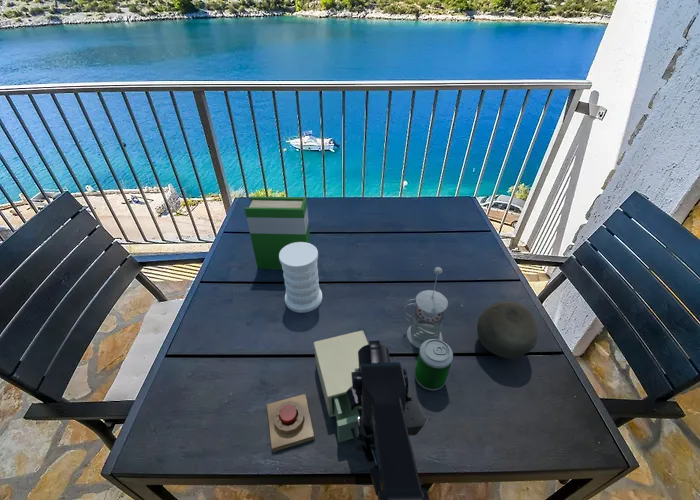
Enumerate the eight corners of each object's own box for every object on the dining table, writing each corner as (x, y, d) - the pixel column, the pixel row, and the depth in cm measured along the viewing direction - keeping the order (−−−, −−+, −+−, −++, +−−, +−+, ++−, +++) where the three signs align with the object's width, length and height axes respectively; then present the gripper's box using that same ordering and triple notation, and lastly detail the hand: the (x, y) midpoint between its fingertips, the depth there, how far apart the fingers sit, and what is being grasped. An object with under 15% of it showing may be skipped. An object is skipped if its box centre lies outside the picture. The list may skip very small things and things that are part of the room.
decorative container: (316, 315, 103) (312, 270, 92) (279, 309, 105) (270, 263, 94) (326, 288, 112) (324, 244, 100) (292, 283, 114) (286, 238, 102)
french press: (440, 354, 92) (458, 286, 77) (397, 342, 95) (406, 275, 80) (444, 326, 100) (461, 259, 84) (404, 316, 102) (414, 250, 87)
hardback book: (257, 268, 119) (244, 208, 104) (262, 255, 125) (250, 196, 110) (309, 269, 119) (303, 209, 104) (311, 256, 124) (306, 197, 110)
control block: (314, 439, 75) (313, 432, 73) (272, 452, 73) (270, 445, 71) (305, 397, 83) (304, 389, 81) (267, 407, 81) (265, 400, 79)
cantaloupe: (463, 353, 92) (476, 316, 83) (480, 319, 102) (494, 282, 92) (519, 381, 86) (539, 344, 77) (531, 342, 95) (551, 304, 86)
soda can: (447, 393, 84) (457, 364, 76) (416, 392, 84) (423, 363, 76) (441, 365, 90) (450, 336, 82) (412, 365, 90) (418, 336, 82)
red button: (298, 422, 75) (297, 418, 74) (281, 426, 74) (280, 423, 73) (295, 406, 78) (294, 402, 77) (279, 411, 77) (278, 407, 76)
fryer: (381, 402, 82) (383, 381, 76) (329, 417, 79) (327, 396, 73) (362, 351, 93) (362, 330, 87) (315, 363, 90) (313, 341, 84)
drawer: (396, 447, 73) (399, 431, 69) (344, 464, 71) (344, 449, 66) (368, 374, 87) (370, 356, 82) (324, 386, 84) (322, 369, 80)
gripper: (448, 456, 53) (433, 491, 63) (400, 356, 67) (394, 397, 77) (380, 480, 51) (375, 513, 61) (345, 370, 65) (345, 411, 75)
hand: (374, 452), depth 68 cm, fingers closed
